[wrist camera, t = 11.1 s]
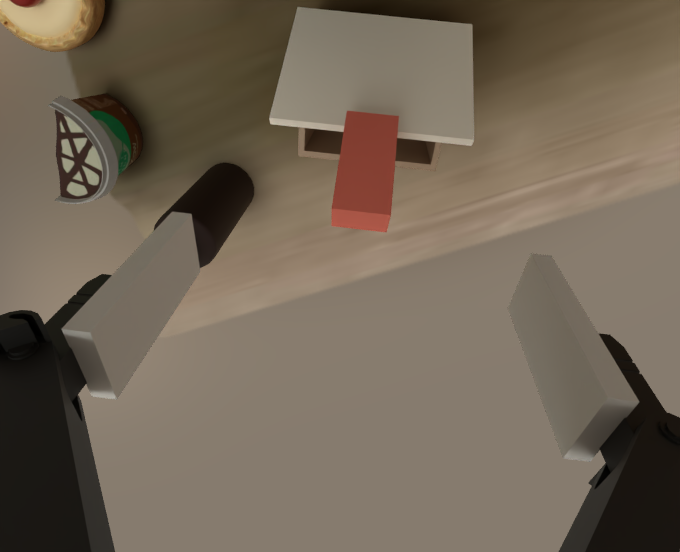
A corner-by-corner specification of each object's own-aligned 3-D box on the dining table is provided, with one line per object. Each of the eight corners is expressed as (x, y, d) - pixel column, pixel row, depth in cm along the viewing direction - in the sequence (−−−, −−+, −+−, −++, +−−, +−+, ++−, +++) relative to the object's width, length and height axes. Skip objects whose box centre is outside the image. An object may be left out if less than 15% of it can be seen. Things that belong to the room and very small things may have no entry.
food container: (148, 189, 56) (107, 222, 48) (103, 172, 56) (54, 204, 47) (155, 101, 49) (109, 123, 41) (104, 81, 48) (47, 99, 40)
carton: (317, 10, 42) (300, 16, 34) (451, 23, 42) (466, 33, 34) (312, 127, 49) (298, 155, 41) (427, 140, 49) (435, 171, 41)
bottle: (196, 171, 54) (112, 248, 38) (239, 155, 52) (171, 230, 36) (221, 214, 58) (154, 303, 41) (263, 201, 56) (210, 288, 39)
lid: (298, 14, 34) (296, -11, 32) (470, 31, 34) (478, 7, 32) (247, 216, 26) (240, 198, 24) (472, 242, 25) (483, 225, 24)
